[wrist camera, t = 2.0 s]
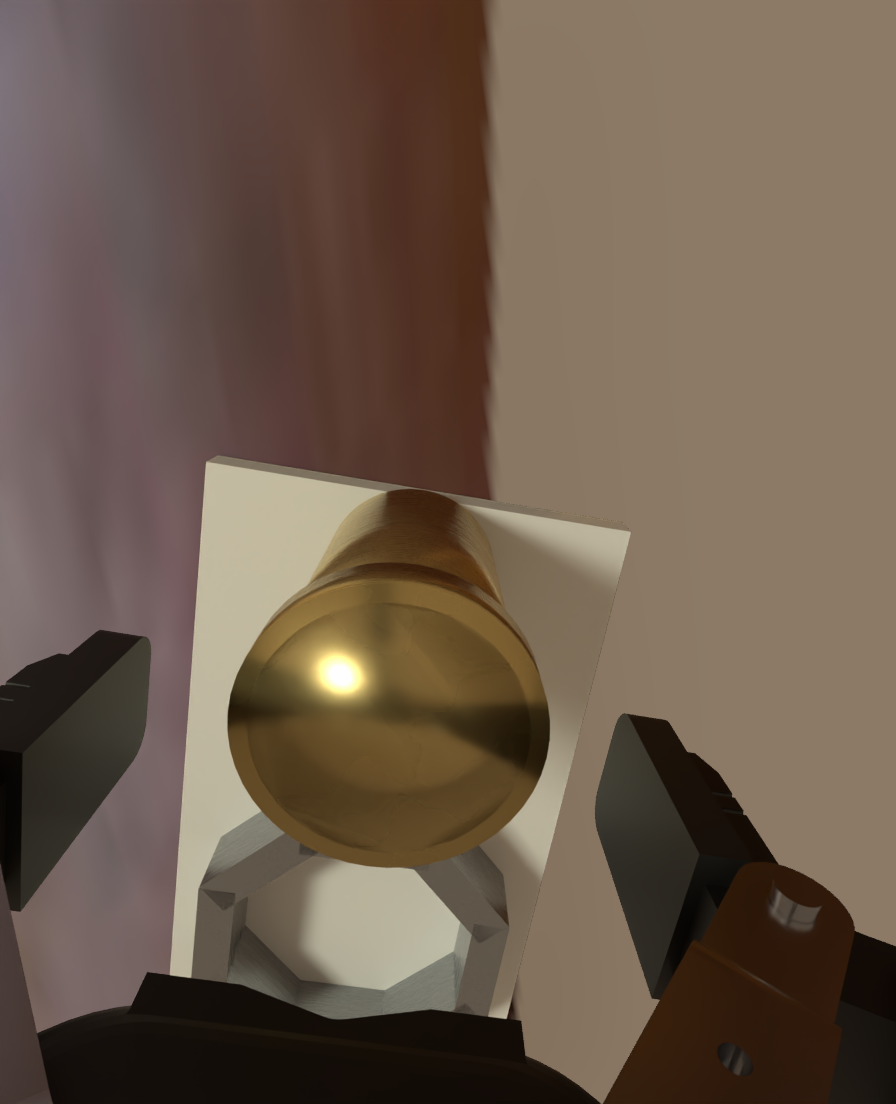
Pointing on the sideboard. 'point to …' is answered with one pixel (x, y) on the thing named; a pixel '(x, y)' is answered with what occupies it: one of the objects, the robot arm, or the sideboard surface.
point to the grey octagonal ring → (442, 985)
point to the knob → (392, 693)
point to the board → (229, 633)
